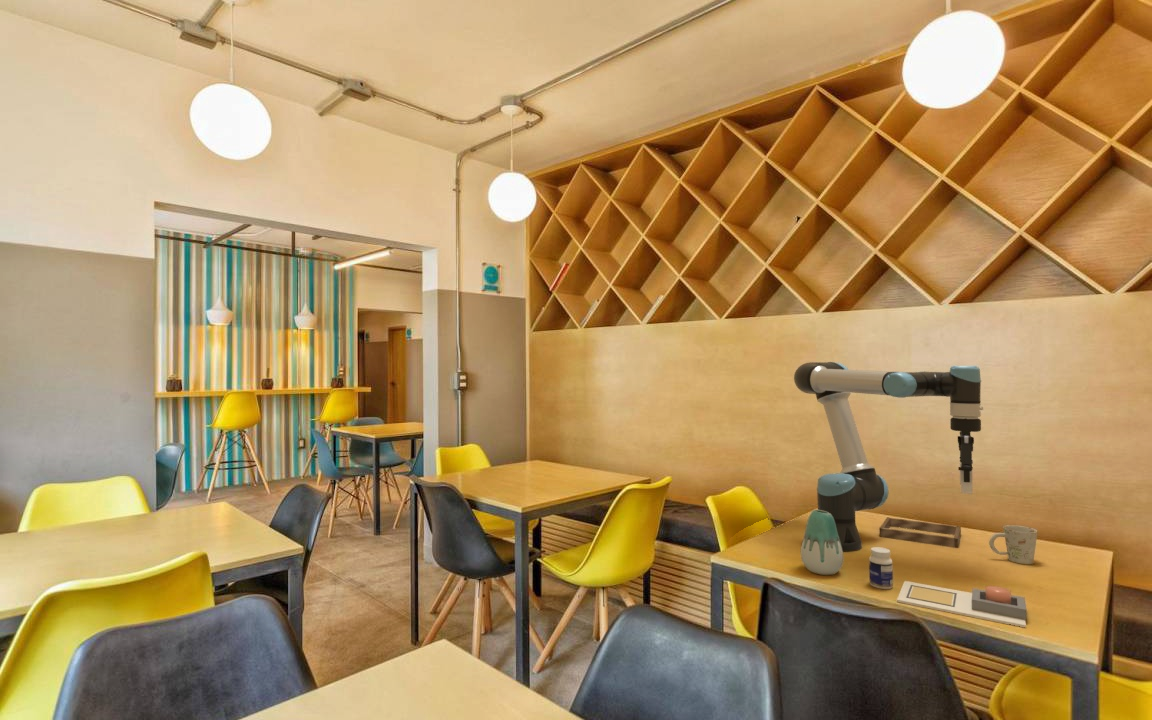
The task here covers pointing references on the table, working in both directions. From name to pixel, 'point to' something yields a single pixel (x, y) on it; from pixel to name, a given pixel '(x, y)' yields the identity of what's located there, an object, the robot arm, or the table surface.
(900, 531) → the book tray
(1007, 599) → the button
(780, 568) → the table surface
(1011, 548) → the mug
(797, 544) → the table surface
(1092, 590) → the table surface
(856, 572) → the table surface
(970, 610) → the white base plate
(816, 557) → the vase
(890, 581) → the pill bottle
